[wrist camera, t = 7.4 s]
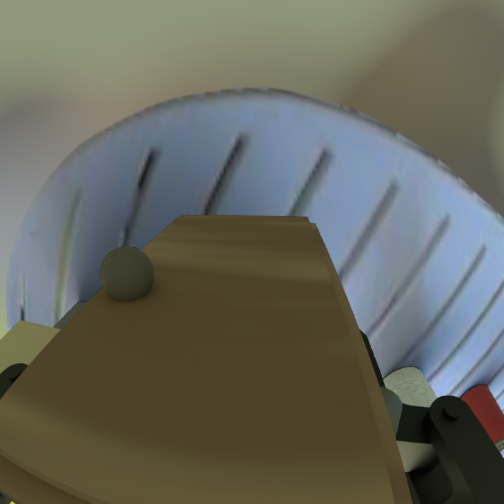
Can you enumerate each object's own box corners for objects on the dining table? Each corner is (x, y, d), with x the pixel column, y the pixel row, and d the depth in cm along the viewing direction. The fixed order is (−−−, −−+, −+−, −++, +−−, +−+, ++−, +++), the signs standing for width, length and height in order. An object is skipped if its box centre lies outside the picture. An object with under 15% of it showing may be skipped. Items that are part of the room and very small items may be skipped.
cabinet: (300, 380, 16) (305, 590, 5) (194, 374, 16) (135, 569, 5) (316, 190, 12) (498, 508, 1) (173, 190, 12) (-90, 389, 1)
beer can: (474, 406, 36) (498, 456, 25) (448, 412, 36) (470, 466, 25) (492, 380, 34) (522, 430, 22) (466, 385, 34) (495, 441, 23)
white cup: (409, 353, 32) (437, 413, 22) (434, 377, 33) (459, 430, 24) (361, 389, 34) (376, 451, 25) (391, 409, 36) (407, 463, 27)
